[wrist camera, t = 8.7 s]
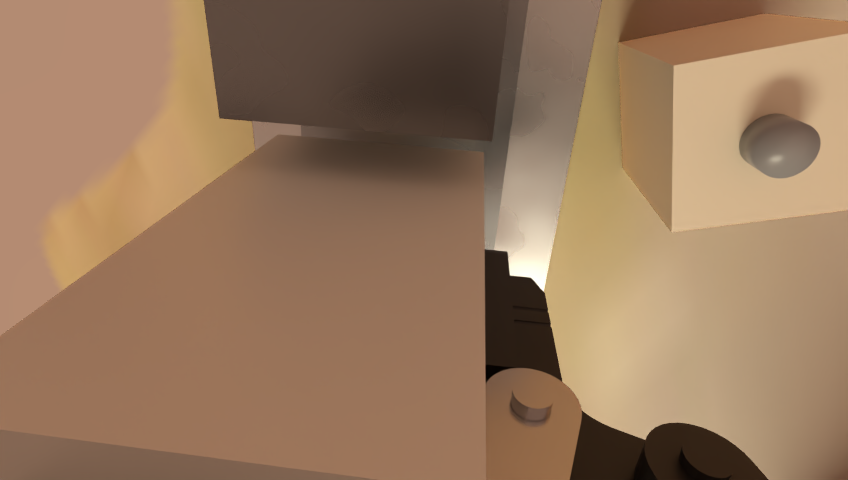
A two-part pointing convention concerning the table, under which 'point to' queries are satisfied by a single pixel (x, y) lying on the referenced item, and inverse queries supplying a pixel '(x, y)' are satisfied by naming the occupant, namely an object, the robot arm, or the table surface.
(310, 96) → the board
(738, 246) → the table surface
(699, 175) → the block
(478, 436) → the block
